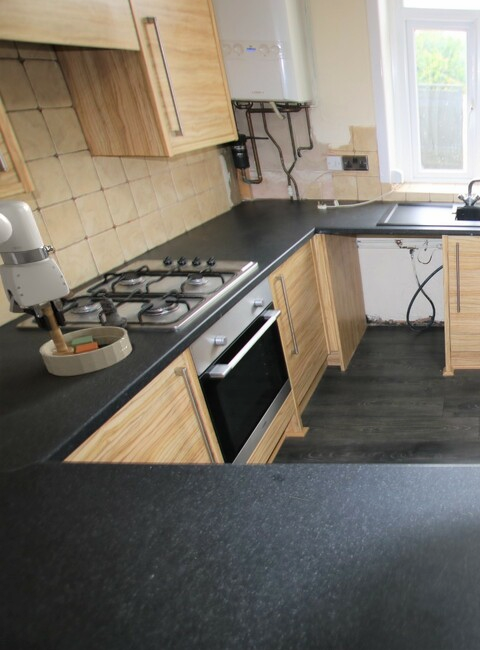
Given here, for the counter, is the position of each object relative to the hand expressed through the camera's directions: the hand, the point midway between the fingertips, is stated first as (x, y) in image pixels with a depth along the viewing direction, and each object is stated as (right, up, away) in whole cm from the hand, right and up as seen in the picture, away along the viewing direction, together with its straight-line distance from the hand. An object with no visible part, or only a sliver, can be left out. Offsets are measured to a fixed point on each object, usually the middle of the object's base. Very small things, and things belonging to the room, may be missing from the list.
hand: (53, 327), depth 116 cm
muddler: (0, -8, +3) cm, 9 cm away
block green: (-1, -7, +10) cm, 13 cm away
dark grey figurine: (-3, -3, +23) cm, 23 cm away
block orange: (+3, -9, +7) cm, 12 cm away
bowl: (+2, -9, +8) cm, 13 cm away
